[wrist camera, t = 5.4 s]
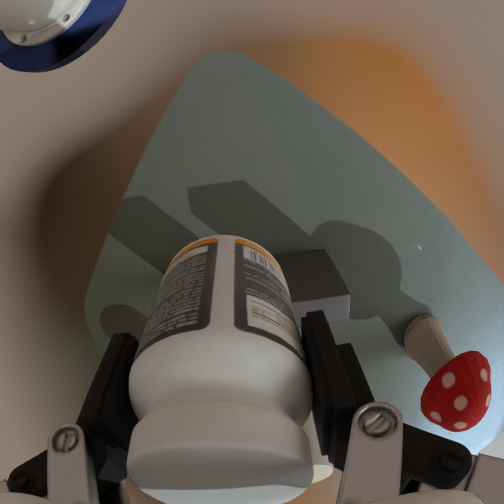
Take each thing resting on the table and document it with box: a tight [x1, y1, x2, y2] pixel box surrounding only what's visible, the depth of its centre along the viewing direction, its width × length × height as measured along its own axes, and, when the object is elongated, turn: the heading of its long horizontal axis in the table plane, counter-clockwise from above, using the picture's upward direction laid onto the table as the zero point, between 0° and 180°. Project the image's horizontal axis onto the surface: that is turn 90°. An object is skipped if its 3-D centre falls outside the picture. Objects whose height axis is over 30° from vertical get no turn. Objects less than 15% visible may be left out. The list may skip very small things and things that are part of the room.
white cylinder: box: [302, 410, 333, 483], centre depth 36 cm, size 6×6×10 cm
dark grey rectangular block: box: [274, 250, 351, 327], centre depth 27 cm, size 5×2×8 cm, turn 97°
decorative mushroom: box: [404, 314, 491, 432], centre depth 29 cm, size 10×9×15 cm
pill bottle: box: [127, 235, 314, 504], centre depth 11 cm, size 6×6×10 cm
